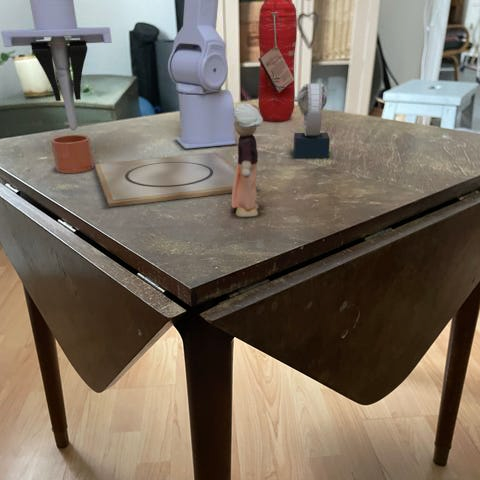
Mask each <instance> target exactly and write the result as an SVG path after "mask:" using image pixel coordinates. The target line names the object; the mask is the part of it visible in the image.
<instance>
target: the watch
mask: <svg viewBox="0 0 480 480" xmlns="http://www.w3.org/2000/svg"><path fill="white" fill-rule="evenodd" d="M327 101H328V91H327V89H326V88H325V85H324V84H323V83H306V84H304V85H303V86H302V87H300V89H299V90H298V91H297V95H296V96H295V100H294V103H296V102H297V105H298V107H299V109H300V111H299V112H300V114H301V116H302V117H303V131H304V132H294V133H293V156H294V159H329V155H330V143H331V141H330V140H331V138H330V136H329V133H328V132H321V129H322V119H323V113H322V112H323V109H324V107H325V106H326V104H327V103H328V102H327Z"/></svg>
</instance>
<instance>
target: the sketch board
mask: <svg viewBox="0 0 480 480" xmlns="http://www.w3.org/2000/svg"><path fill="white" fill-rule="evenodd" d="M94 168H95V171H96V174H97V177H98V179H99V183H100V185H101V188H102V191H103V194H104V197H105V200H106V202H107V205H108V207H109V208H114V207H115V208H116V207H122V206H131V205H140V204H148V203H157V202H166V201H174V200H182V199H192V198H200V197H210V196H217V195H226V194H232V190H233V184H234V178H235V173H236V168H235V167H234V166H233V165H231V163H229V162H228V161H227V160H226V159H225V158H223V157H222V156H221V155H220V154H219V153H217V152H207V153H197V154H187V155H186V154H185V155H176V156H165V157H155V158H145V159H144V158H143V159H135V160H134V159H133V160H123V161H112V162H104V163H103V162H102V163H94Z"/></svg>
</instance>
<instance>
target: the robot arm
mask: <svg viewBox="0 0 480 480" xmlns="http://www.w3.org/2000/svg"><path fill="white" fill-rule="evenodd" d="M29 2H30V3H29V4H30V10H31V13H32V14H31V16H32V20H33V26H34V28H29V29H9V30H1V31H0V33H1V38H2V43H3V47H4V48H11V47H25V46H26V47H27V46H28V47H29V46H30V48H31V52H32V53H33V55H34V57H35V58H36V60H37V62H38V63H39V66H40V67H41V68H42V71H43V72H44V74H45V76H46V78H47V79H48V82H49V85H50V87H51V89H52V92H53V94H54V98H55V101H56V102H61V101H62V100H61V92H60V88H59V85H58V80H57V78H56V72H55V65H54V62H53V59H52V55H51V50H50V44H49V43H50V40H45V38H51V37H63V36H64V37H70V38H71V39H66V41H67V42H68V43H67V44H68V47H69V54H70V68H71V75H72V86H73V95H74V99H75V101H78V100H79V101H80V100H82V99H81V87H82V75H83V69H84V66H85V65H84V64H85V61H86V57H87V53H88V45H87V44H102V43H104V44H112V34H111V27H109V26H104V27H103V26H101V27H99V26H97V27H95V26H93V27H78V23H77V16H76V11H75V3H74V2H75V1H74V0H29ZM218 8H219V0H184V4H183V19H182V21H183V22H182V26H181V28H180V30H179V31H178V32H177V33H176V35H175V37H174V38H173V45H172V51H171V53H170V55H169V58H168V60H167V71H168V76H169V78H170V79H171V81H172V82H173V83H174V84H175V89H176V91H177V94H178V95H177V96H178V97H177V98H178V107H179V108H178V109H179V124H180V136H176V137H175V140H176V141H177V143H179V145H180V146H181V147H183V148H184V149H187V150H189V149H199V148H208V147H210V148H211V147H219V146H221V147H222V146H230V145H236V144H237V141H236V139H235V138H236V137H235V127H234V123H235V118H234V110H235V105H234V97H233V95H232V93H231V91H230V90H229V89H222V87H223V86H224V84H225V82H226V81H227V78H228V73H229V72H228V71H229V66H228V61H227V57H226V47H227V46H226V45H227V44H226V42H225V41H224V39H223V38H222V36H220V34H219V33H218V31H217V22H218V11H219V10H218Z"/></svg>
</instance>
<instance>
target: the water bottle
mask: <svg viewBox="0 0 480 480" xmlns="http://www.w3.org/2000/svg"><path fill="white" fill-rule="evenodd" d="M296 8H297V7H296V6H295V4H294V2H293V0H264V1H263V3H262V5H261V7H260V9H259V15H258V46H259V49H258V50H259V57H258V58H257V60H258V62H259V80H258V111H259V113H260V115H261V117H262V118H263V121H267V122H275V123H276V122H277V123H278V122H285V121H288V120H290V119H291V118H292V115H293V113H294V109H295V97H296V90H295V89H296V88H295V55H296V47H297V46H296V45H297V38H298V37H297V32H298V30H297V29H298V19H297V9H296Z"/></svg>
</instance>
